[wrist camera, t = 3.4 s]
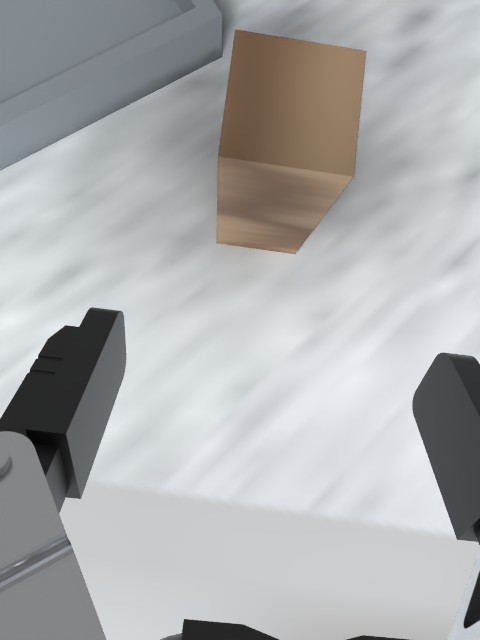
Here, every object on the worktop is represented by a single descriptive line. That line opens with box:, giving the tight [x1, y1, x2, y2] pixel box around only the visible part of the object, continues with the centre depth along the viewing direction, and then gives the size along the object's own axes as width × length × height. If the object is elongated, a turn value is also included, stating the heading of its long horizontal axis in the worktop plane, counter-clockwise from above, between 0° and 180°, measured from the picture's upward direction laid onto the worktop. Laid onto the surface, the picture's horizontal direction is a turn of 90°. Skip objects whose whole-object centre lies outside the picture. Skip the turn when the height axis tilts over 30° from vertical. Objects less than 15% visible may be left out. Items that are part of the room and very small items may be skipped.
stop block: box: [216, 30, 366, 254], centre depth 19 cm, size 4×4×10 cm
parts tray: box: [0, 0, 223, 170], centre depth 23 cm, size 15×12×3 cm
